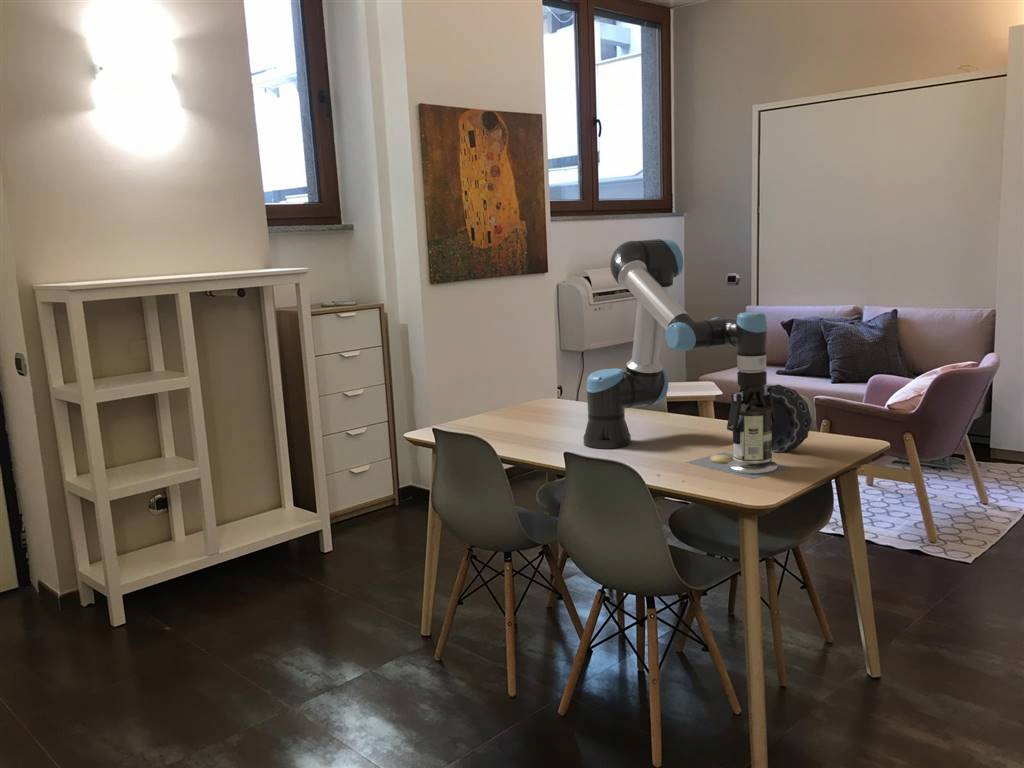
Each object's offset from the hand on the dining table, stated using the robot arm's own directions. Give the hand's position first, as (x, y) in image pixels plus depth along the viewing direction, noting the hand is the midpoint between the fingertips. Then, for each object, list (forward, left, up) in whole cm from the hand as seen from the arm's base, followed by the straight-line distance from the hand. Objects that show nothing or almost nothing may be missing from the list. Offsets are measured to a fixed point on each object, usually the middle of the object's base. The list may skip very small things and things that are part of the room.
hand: (752, 451), depth 237 cm
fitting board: (-5, 0, -6) cm, 8 cm away
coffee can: (0, 0, -2) cm, 2 cm away
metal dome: (0, 0, -5) cm, 5 cm away
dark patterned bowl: (-10, +22, -6) cm, 25 cm away
